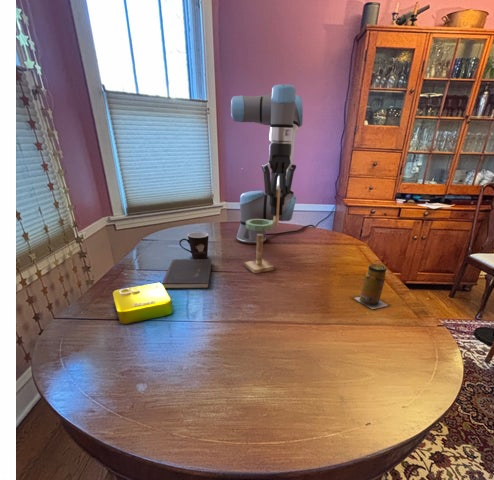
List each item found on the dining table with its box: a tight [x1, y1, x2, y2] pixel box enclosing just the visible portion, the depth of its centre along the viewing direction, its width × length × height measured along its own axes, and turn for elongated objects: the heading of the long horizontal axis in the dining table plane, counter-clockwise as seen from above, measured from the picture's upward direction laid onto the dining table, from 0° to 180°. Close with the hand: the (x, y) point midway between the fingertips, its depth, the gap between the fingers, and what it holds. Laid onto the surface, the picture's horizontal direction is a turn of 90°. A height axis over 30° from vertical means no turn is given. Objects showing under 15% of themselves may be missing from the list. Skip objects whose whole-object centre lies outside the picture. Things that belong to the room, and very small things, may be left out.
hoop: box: [246, 189, 281, 232], centre depth 109 cm, size 13×10×13 cm
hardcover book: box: [161, 258, 213, 290], centre depth 112 cm, size 16×23×2 cm
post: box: [243, 234, 275, 274], centre depth 118 cm, size 9×9×14 cm
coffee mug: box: [178, 231, 210, 259], centre depth 127 cm, size 12×9×10 cm
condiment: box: [353, 263, 389, 310], centre depth 95 cm, size 7×8×12 cm
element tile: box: [112, 282, 174, 325], centre depth 89 cm, size 15×15×5 cm
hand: (276, 214), depth 113 cm, fingers closed on hoop, 2 cm apart
